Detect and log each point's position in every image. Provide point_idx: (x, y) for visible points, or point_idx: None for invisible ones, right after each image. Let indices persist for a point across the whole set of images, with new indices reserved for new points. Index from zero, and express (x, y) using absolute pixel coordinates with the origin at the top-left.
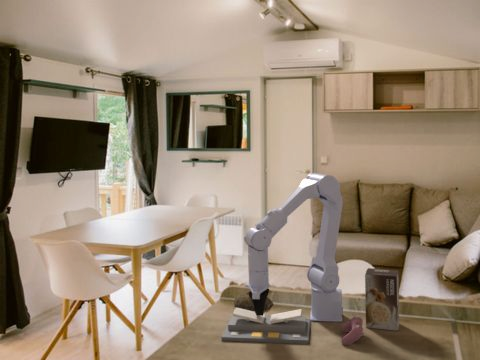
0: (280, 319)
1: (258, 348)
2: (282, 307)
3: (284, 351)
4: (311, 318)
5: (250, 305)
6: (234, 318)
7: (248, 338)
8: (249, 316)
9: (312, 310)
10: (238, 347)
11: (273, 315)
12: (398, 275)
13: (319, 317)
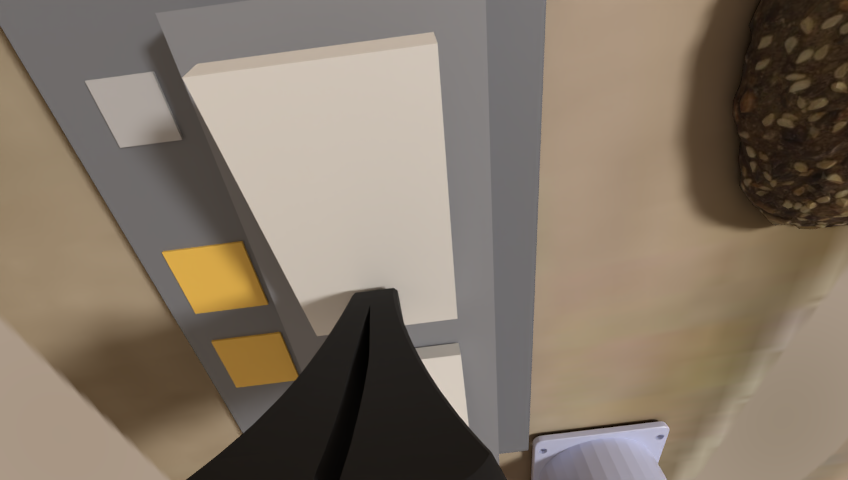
0: None
1: (91, 304)
2: (766, 289)
3: (145, 410)
4: (549, 445)
5: (794, 89)
6: (362, 35)
7: (132, 238)
8: (298, 249)
9: (589, 477)
10: (10, 188)
11: (435, 373)
12: None
13: (546, 476)
